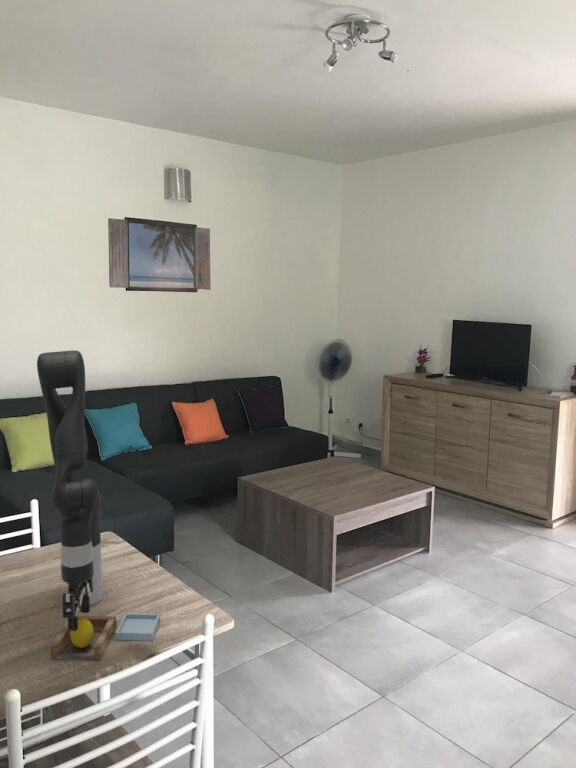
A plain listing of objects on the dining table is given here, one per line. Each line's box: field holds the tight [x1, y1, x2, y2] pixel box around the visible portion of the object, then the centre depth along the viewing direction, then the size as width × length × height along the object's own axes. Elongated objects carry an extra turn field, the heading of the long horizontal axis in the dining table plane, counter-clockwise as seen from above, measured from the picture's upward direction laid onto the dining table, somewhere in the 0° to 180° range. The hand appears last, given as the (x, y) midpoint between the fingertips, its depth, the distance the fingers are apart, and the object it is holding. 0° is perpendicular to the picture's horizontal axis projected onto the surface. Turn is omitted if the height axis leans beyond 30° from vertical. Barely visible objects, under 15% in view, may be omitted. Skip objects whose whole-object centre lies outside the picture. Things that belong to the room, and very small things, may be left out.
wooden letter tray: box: [50, 615, 117, 661], centre depth 160 cm, size 14×12×4 cm
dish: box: [115, 613, 161, 642], centre depth 167 cm, size 9×9×2 cm
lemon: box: [70, 618, 95, 649], centre depth 158 cm, size 6×6×8 cm
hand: (79, 620), depth 157 cm, fingers open, 8 cm apart
